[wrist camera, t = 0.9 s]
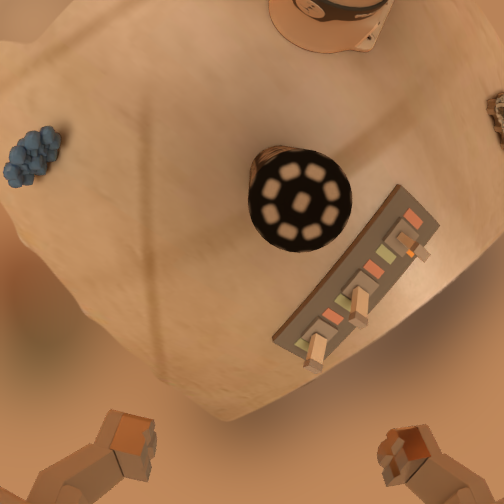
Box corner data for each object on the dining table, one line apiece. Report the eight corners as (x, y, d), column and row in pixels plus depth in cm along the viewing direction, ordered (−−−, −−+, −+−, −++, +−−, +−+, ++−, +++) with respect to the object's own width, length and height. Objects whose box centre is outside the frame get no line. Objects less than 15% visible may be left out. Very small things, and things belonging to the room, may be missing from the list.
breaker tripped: (401, 231, 43) (419, 243, 37) (411, 240, 43) (430, 254, 37) (395, 238, 43) (413, 252, 37) (406, 248, 43) (424, 262, 38)
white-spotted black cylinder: (294, 213, 45) (324, 267, 26) (240, 190, 44) (231, 229, 25) (318, 160, 42) (368, 177, 24) (264, 136, 41) (274, 131, 22)
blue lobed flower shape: (60, 110, 39) (13, 107, 28) (83, 137, 41) (37, 140, 29) (24, 163, 42) (-23, 174, 30) (44, 189, 43) (-2, 206, 32)
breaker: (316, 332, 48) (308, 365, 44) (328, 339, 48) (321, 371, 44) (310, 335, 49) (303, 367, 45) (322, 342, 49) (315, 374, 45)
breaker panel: (397, 184, 43) (404, 186, 41) (435, 222, 45) (443, 227, 43) (272, 337, 52) (273, 345, 50) (316, 361, 54) (318, 370, 52)
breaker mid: (358, 285, 45) (355, 317, 41) (369, 293, 46) (367, 325, 42) (351, 289, 46) (348, 321, 42) (363, 297, 47) (360, 329, 43)
